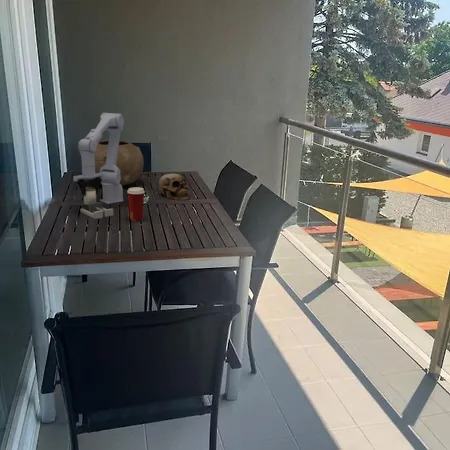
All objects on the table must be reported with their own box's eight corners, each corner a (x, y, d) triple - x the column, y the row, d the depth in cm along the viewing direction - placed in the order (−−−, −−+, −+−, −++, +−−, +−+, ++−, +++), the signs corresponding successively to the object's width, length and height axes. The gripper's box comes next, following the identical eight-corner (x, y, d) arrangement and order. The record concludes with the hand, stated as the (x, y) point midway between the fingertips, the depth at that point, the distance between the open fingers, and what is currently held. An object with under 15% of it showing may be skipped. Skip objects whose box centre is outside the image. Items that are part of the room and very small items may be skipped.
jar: (92, 201, 216) (91, 186, 213) (98, 203, 212) (97, 188, 210) (81, 202, 212) (81, 188, 210) (88, 205, 208) (87, 190, 206)
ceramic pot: (117, 175, 289) (116, 136, 281) (155, 184, 270) (155, 142, 263) (74, 183, 263) (71, 140, 255) (112, 194, 244) (110, 147, 237)
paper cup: (148, 218, 206) (147, 188, 202) (139, 222, 199) (139, 191, 195) (133, 215, 208) (132, 186, 204) (124, 220, 202) (123, 189, 197)
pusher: (101, 211, 212) (101, 201, 211) (109, 214, 207) (109, 205, 206) (89, 213, 208) (88, 203, 206) (97, 217, 203) (96, 207, 201)
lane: (98, 208, 217) (98, 202, 216) (113, 215, 208) (113, 209, 207) (80, 211, 211) (80, 205, 210) (94, 219, 201) (94, 212, 200)
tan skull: (188, 200, 237) (186, 175, 234) (156, 202, 239) (153, 177, 235) (192, 194, 252) (190, 170, 249) (162, 195, 254) (159, 172, 250)
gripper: (98, 162, 214) (99, 190, 218) (69, 165, 204) (71, 194, 208) (105, 165, 209) (107, 193, 213) (76, 168, 199) (78, 197, 204)
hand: (89, 194), depth 211 cm, fingers closed on jar, 5 cm apart
